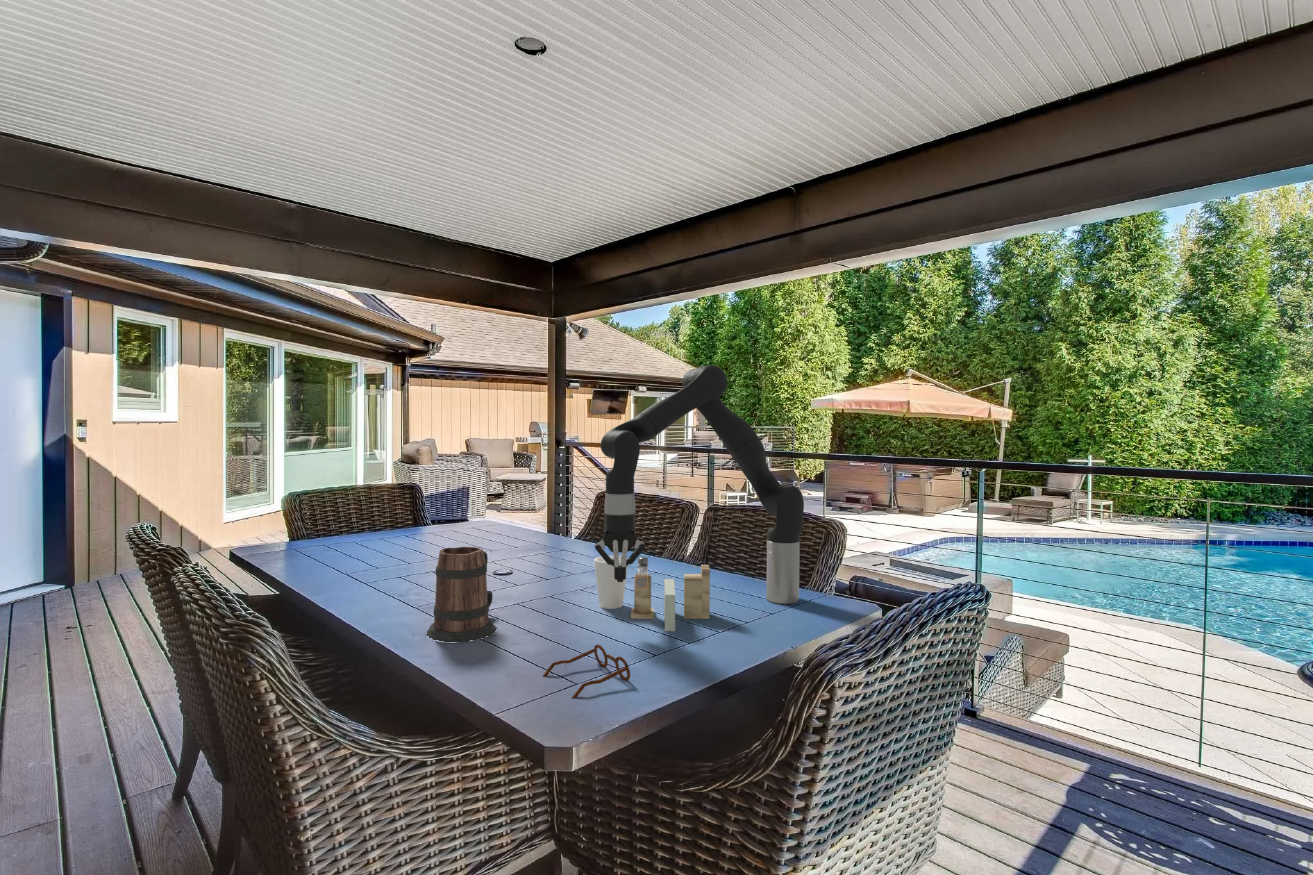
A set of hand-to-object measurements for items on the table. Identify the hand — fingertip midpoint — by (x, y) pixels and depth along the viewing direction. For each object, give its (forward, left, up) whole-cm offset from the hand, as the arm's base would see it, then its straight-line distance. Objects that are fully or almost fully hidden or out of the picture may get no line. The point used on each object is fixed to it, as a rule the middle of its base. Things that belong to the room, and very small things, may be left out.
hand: (619, 581), depth 161 cm
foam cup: (-20, -4, -12) cm, 24 cm away
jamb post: (-11, +5, -12) cm, 17 cm away
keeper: (-11, +19, -12) cm, 25 cm away
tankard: (0, -38, -12) cm, 39 cm away
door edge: (-6, +12, -12) cm, 18 cm away
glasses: (+32, -5, -12) cm, 35 cm away
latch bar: (-5, +5, -1) cm, 7 cm away
